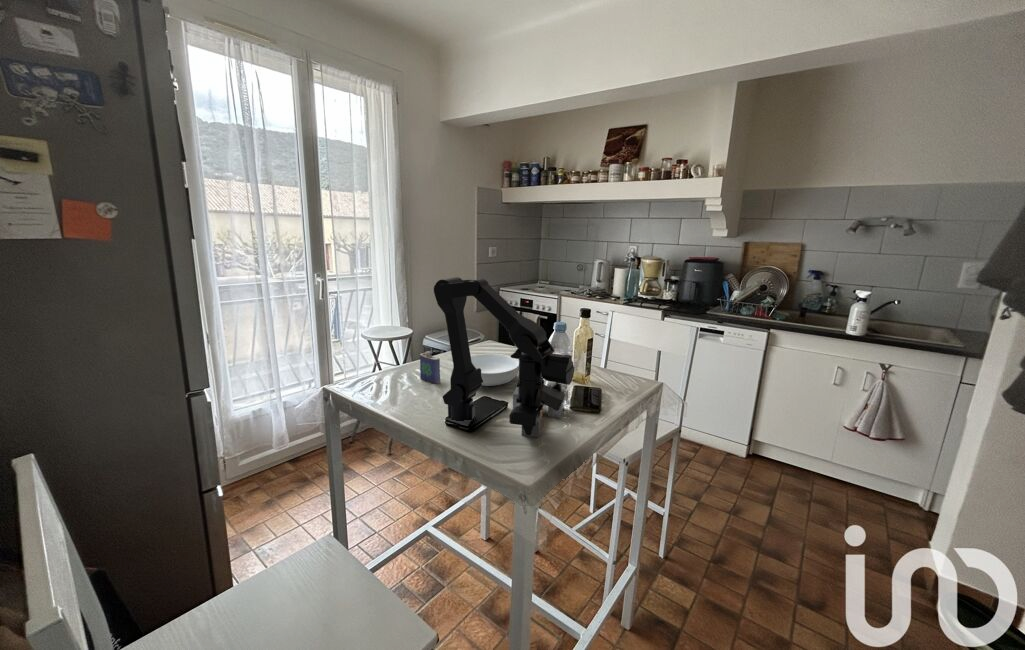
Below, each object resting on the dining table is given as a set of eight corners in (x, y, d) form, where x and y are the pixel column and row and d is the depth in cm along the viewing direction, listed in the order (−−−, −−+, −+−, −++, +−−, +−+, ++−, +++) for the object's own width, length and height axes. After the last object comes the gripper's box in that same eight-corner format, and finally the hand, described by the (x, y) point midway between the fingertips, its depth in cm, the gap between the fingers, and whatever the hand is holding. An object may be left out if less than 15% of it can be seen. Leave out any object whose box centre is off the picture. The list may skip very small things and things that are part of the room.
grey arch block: (512, 412, 117) (513, 394, 116) (517, 402, 124) (517, 384, 122) (561, 418, 114) (562, 399, 113) (563, 407, 121) (564, 389, 120)
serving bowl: (521, 371, 150) (522, 354, 148) (516, 395, 130) (517, 374, 128) (466, 369, 152) (466, 351, 150) (452, 391, 132) (452, 371, 130)
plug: (521, 435, 105) (521, 420, 104) (530, 411, 118) (530, 398, 117) (538, 437, 104) (539, 422, 103) (545, 413, 118) (546, 399, 116)
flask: (442, 382, 138) (441, 353, 136) (435, 385, 136) (434, 355, 133) (424, 376, 144) (423, 347, 141) (417, 378, 142) (416, 349, 139)
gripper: (558, 395, 88) (556, 458, 92) (567, 367, 106) (564, 421, 110) (509, 390, 91) (508, 452, 95) (525, 363, 108) (524, 416, 112)
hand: (528, 434), depth 103 cm, fingers closed
